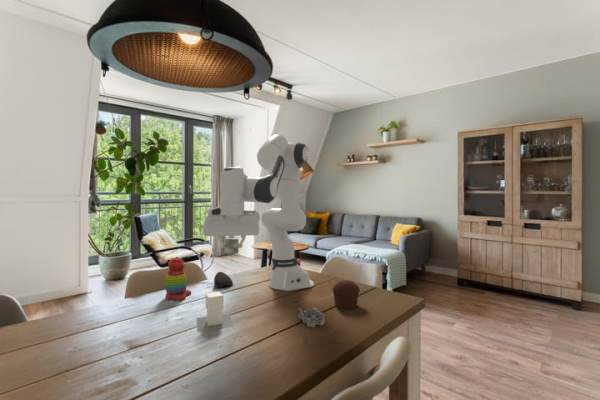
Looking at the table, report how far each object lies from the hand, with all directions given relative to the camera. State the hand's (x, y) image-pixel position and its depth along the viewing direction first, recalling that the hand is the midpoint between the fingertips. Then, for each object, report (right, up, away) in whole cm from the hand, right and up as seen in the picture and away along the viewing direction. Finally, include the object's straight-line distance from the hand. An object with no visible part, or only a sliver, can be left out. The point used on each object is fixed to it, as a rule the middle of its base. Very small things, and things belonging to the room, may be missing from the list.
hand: (231, 247), depth 116 cm
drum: (0, -2, 0) cm, 2 cm away
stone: (-14, -26, +43) cm, 52 cm away
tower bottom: (-5, -26, -3) cm, 27 cm away
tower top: (-5, -21, -3) cm, 22 cm away
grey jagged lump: (+30, -27, 0) cm, 40 cm away
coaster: (-5, -27, -3) cm, 27 cm away
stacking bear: (-30, -26, +27) cm, 48 cm away
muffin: (+45, -26, +15) cm, 54 cm away
